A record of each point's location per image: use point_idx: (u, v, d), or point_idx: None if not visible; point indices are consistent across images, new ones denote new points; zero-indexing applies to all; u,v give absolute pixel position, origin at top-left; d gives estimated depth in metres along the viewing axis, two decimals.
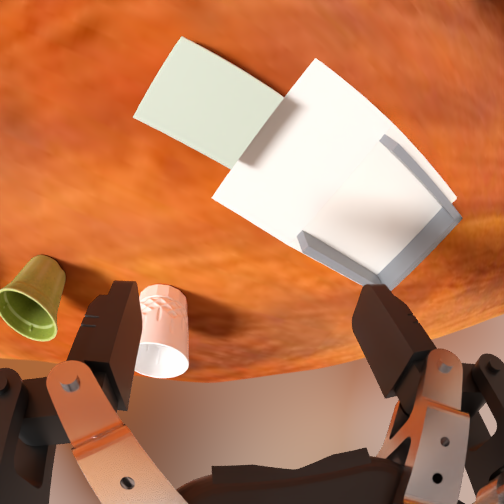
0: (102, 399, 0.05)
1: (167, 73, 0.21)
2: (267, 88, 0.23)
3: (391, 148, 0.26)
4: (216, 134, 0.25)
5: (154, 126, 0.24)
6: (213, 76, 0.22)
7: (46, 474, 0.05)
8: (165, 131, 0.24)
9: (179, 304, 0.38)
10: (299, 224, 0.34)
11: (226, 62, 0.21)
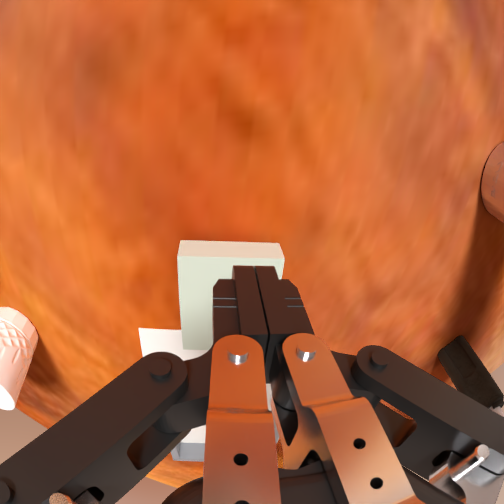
0: (260, 381, 0.06)
1: None
2: None
3: None
4: (205, 328, 0.26)
5: (180, 279, 0.24)
6: None
7: (155, 460, 0.06)
8: (181, 290, 0.24)
9: (31, 352, 0.28)
10: None
11: None
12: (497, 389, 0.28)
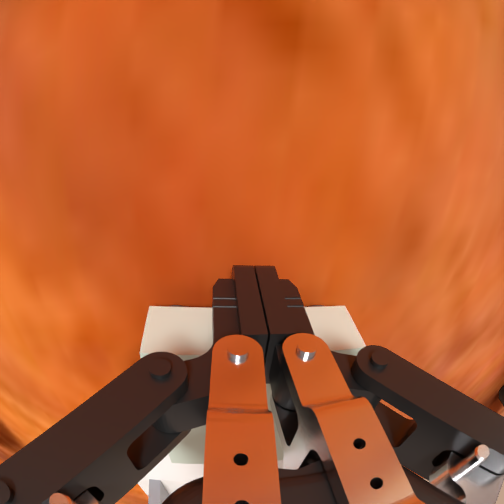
0: (260, 381, 0.06)
1: None
2: None
3: None
4: None
5: None
6: None
7: (155, 460, 0.06)
8: None
9: None
10: (162, 477, 0.20)
11: None
12: None
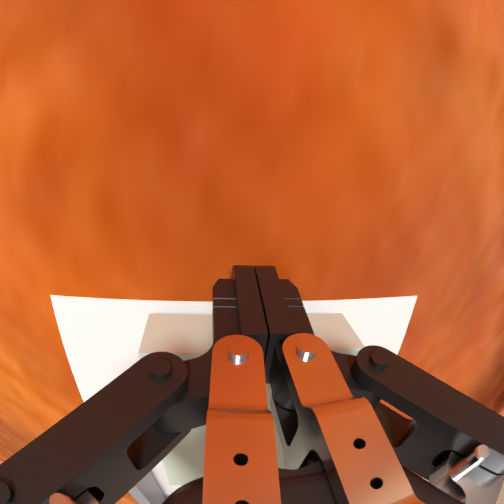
0: (260, 381, 0.06)
1: None
2: None
3: None
4: None
5: None
6: None
7: (154, 460, 0.06)
8: None
9: None
10: None
11: None
12: None
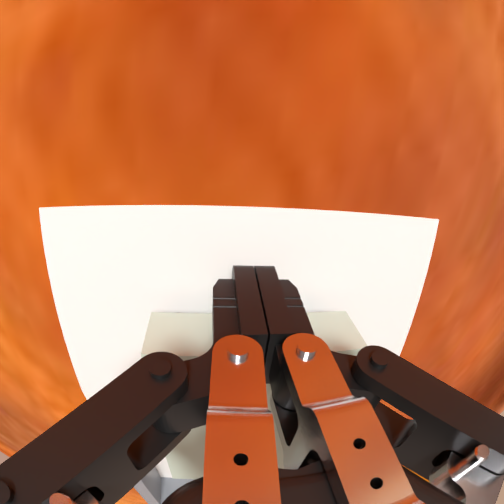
0: (260, 381, 0.06)
1: None
2: None
3: None
4: None
5: None
6: None
7: (154, 460, 0.06)
8: None
9: None
10: None
11: None
12: None
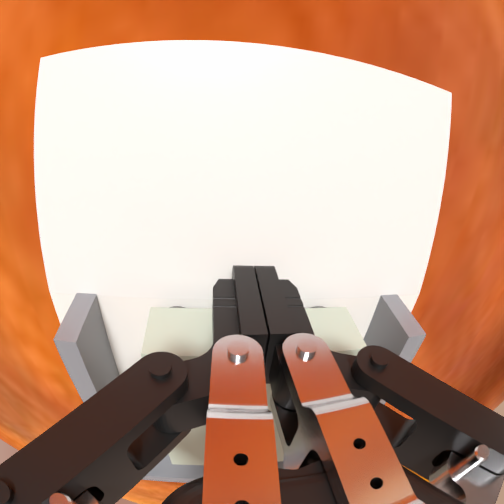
0: (261, 381, 0.06)
1: None
2: None
3: (408, 330, 0.12)
4: None
5: None
6: None
7: (155, 460, 0.06)
8: None
9: None
10: (101, 279, 0.12)
11: None
12: None
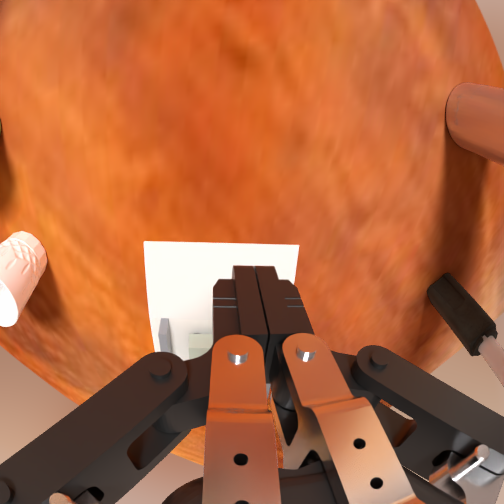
0: (260, 381, 0.06)
1: None
2: None
3: None
4: None
5: None
6: None
7: (155, 460, 0.06)
8: None
9: (39, 273, 0.32)
10: (170, 313, 0.38)
11: None
12: (488, 317, 0.32)
